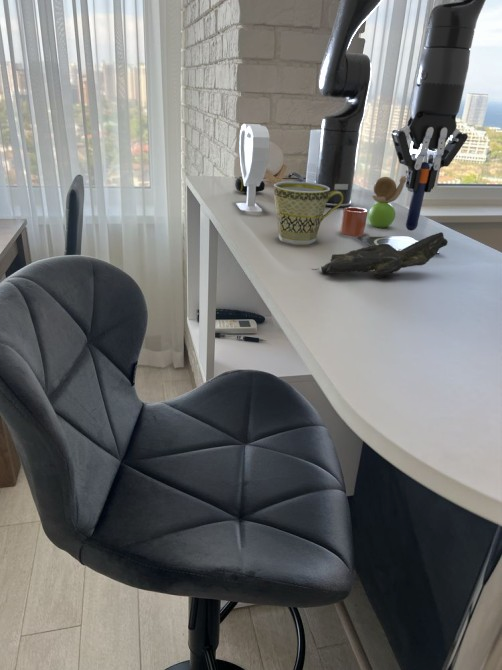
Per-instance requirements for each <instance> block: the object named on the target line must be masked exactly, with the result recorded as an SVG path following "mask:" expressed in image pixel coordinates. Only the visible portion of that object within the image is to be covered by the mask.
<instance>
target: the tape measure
mask: <svg viewBox="0 0 502 670" xmlns="http://www.w3.org/2000/svg"><path fill="white" fill-rule="evenodd" d="M234 186H235V189H236V190H237V191H239V192H241V193H243V194H246V195H247V186H244V183H243V177H242V176H238V177H236V179H235V184H234ZM265 186H266V184H265V182H264V181H263V180H262V181H261V183H260V185H259V186H256V193H259V192H263V191H264V190H265Z"/></svg>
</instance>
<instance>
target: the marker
mask: <svg viewBox="0 0 502 670" xmlns="http://www.w3.org/2000/svg"><path fill="white" fill-rule="evenodd" d="M419 170H421V174H420V179H419V184H418V189H417V192H411V198H410V203H409V207H408V212H407V218H406V222H405V228H406V230H407V231H415V230H416V229H417V227H418V224H419V220H420V214H421V210H422V207H423V202H424V197H425V193H426V192H425V188H426V183H427V180H428V176H429V171H430V165H429V164H428V163H427V161H422V165H421V168H420V169H419Z"/></svg>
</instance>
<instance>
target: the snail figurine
mask: <svg viewBox="0 0 502 670" xmlns="http://www.w3.org/2000/svg"><path fill="white" fill-rule="evenodd" d="M404 172H405V175H401V176H400V177H399V179H398V180H399V181H398V184H396V181H395V180H394V179H393V178H391V177H388V176H382V177H380V178H378V179H376V181H375V182H374V183H373V192H374V194H375V195H372V196H371V198H372V199H373V200H374V201H375V202H376V203H374V204H372V206H371V207H370V209H369V210H368V213H367V218H368V221H369V223H370V224H371V225H372V226H373V227H374V228H380V229H386V228H388V227H389V226H391V225H392V224H393V222H394V221H395V219H396V211H395V208H394V206H393V205H392V204H391V203H392V202H394V201H396V200H397V199H398V198H399V197H400V195H401V193H402V191H403V189H404V187H405V185H406V180H407V175H408V169H406V170H404Z"/></svg>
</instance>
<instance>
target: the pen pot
mask: <svg viewBox="0 0 502 670" xmlns="http://www.w3.org/2000/svg"><path fill="white" fill-rule="evenodd" d="M368 213H369V210H367V209H366V208H363V207H356V206H346V207H343V212H342V219H341V227H340V233H341V234H342V235H344V236H348V237H364V235H365V231H366V224H367V219H368Z"/></svg>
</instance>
